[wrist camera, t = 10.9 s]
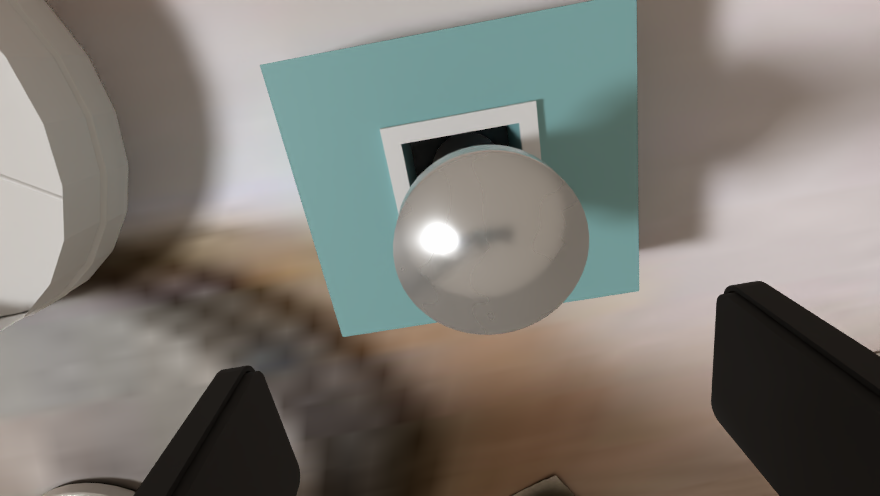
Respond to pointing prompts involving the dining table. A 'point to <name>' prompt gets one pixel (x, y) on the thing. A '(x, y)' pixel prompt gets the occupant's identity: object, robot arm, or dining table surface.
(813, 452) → the robot arm
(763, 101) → the dining table surface
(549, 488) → the condiment
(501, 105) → the dock
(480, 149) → the bolt
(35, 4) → the dish
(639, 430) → the dining table surface
